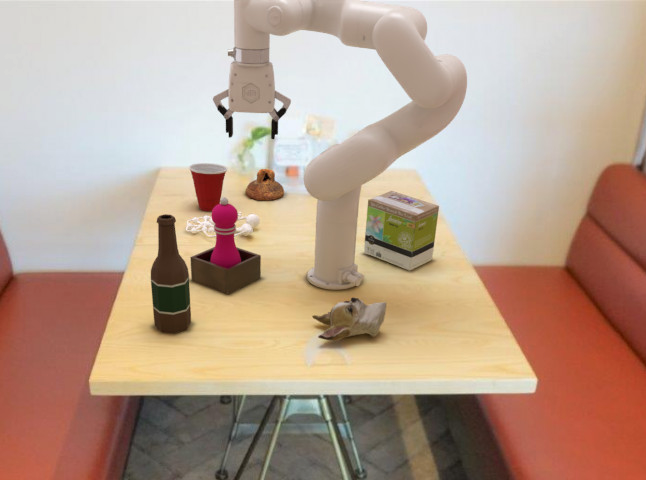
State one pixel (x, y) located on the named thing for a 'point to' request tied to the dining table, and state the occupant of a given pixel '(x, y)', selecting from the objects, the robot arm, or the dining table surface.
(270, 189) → the bell
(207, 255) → the box
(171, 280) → the beer bottle
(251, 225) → the tangled rod sculpture
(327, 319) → the ceramic sculpture
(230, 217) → the pepper mill
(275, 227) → the dining table surface
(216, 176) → the plastic cup
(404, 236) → the tea box
